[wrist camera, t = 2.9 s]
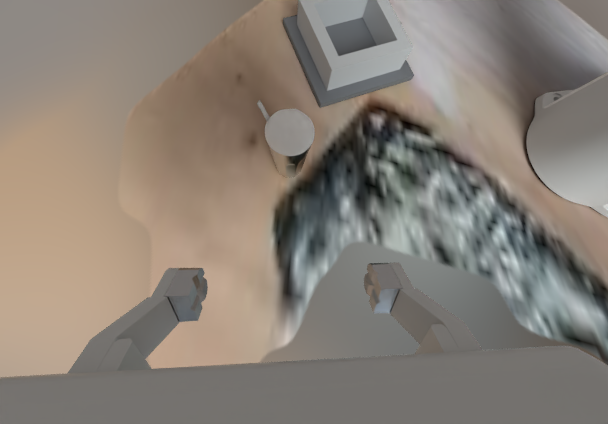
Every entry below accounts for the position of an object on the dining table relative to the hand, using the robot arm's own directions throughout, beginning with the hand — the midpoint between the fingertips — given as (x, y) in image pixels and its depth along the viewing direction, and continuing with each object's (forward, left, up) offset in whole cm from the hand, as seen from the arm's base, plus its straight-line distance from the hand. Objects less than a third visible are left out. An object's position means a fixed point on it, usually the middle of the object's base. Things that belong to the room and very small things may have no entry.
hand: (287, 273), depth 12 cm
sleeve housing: (-18, -25, -15) cm, 34 cm away
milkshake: (-4, -12, -16) cm, 20 cm away
